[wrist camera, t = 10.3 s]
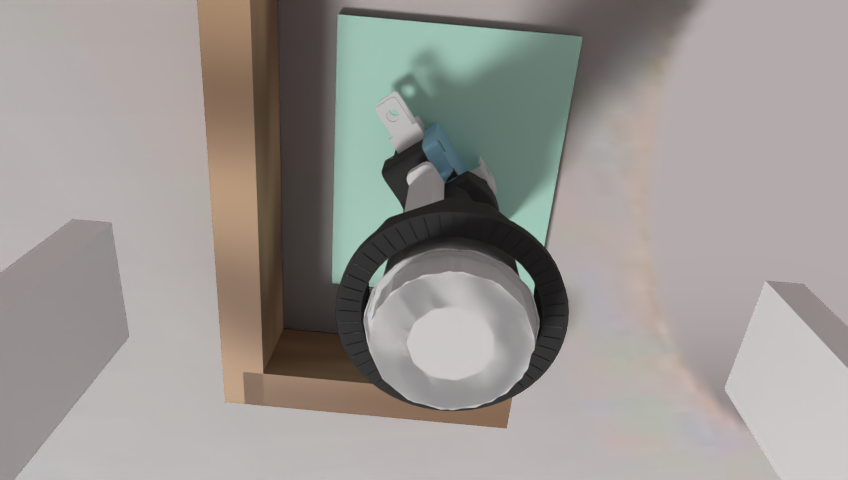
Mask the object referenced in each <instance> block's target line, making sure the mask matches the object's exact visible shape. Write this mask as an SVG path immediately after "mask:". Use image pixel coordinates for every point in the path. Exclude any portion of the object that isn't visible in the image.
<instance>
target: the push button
mask: <svg viewBox="0 0 848 480" xmlns="http://www.w3.org/2000/svg"><path fill="white" fill-rule="evenodd" d="M391 109H394V110H396V111H397V112H398V114H397V115H394V114H392V113H391V112H390V110H391ZM375 111H376V113H377V114H378V116H379V117H380V119H381V120H382V122H383V123H384V125H385V126H386V128H387V129H388V131H389V132H390V134H391V135H392V137H391V138H389V141H390V142H391V144H392V145H393V147H394V148H395V153H394V155H393V156H392V157H390V158H389V159H387V160H385V162H384V165H383V168H382V176H383V178H384V180H385V182H386V183H387V185H388V186H389V187H390V189H391V190H392V192H393V193H394V195H395V196H396V198H397V199H398V201H399V202H400V204H401V206H402V208H403V213H401V214H398V215H395V216H392V217H389V218H388V219H386V220H385V221H384V223H383V224H382V225H381V226H380V227H379V228H378V229H377V230H376V231H375V232H374V233H373V234H371V235H370V236H369V237H368V238H367V239H366V240H365V241H364V242H363V243H362V244H361V245H360V246H359V248H358V249H357V250H356V251H355V253H354V254H353V256H352V257H351V259H350V261H349V262H348V264H347V267H346V269H345V271H344V273H343V276H342V279H341V282H340V285H339V289H338V293H337V298H336V310H335V313H336V324H337V329H338V333H339V336H340V340H341V343H342V345H343V347H344V349H345V351H346V353H347V355H348V356H349V358H350V360H351V361H352V363H353V364H354V365H355V367H356V368H357V369H358V370H359V371H360V373H361V374H362V375H363V376H364V377H365V378H366V379H368V380H369V381H370V382H371V383H372V384H373V385H375V386H376V387H377V388H379V389H380V390H382V391H383V392H385V393H387V394H388V395H390V396H392V397H394V398H396V399H398V400H400V401H403V402H406V403H408V404H411V405H414V406H418V407H422V408H426V409H432V410H441V411H465V410H473V409H480V408H484V407H488V406H492V405H494V404H497V403H500V402H503V401H505V400H507V399H509V398H512V397H514V396H515V395H517V394H519V393H521V392H522V391H524V390H525V389H527V388H528V387H529V386H531V385H532V384H533V383H534V382H535V381H537V380H538V379H539V378H540V377H541V376H542V375H543V374H544V373H545V372H546V371H547V369H548V368H549V367H550V365H551V364H552V363H553V361H554V360H555V358H556V356H557V355H558V353H559V351H560V349H561V346H562V344H563V341H564V338H565V335H566V331H567V326H568V315H569V309H568V299H567V294H566V289H565V286H564V283H563V280H562V277H561V274H560V272H559V270H558V267H557V265H556V263H555V261H554V260H553V258H552V257H551V255H550V254H549V252H548V251H547V250H546V249H545V247H544V246H543V245H542V244H541V243H540V242H539V241H538V240H537V239H536V238H535V237H534V236H533V235H532V234H531V233H529V232H528V231H527V230H525V229H524V228H523V227H521V226H519V225H518V224H516V223H515V222H513V221H511V220H509V219H508V218H507V217H505V216H504V215H503V214H502V213H501V212H499V206H498V202H497V199H496V197H495V194H496V193H497V191H496V184H495V179H494V177H493V175H492V173H491V172H490V170H489V168H488V167H487V165H486V164H485V162H484V160H483V159H482V157H481V156H480V155H478V164H479V167H478V168H476V169H475V170H473V171H470V170H468V168H467V167H466V165H465V164H464V162H463V160H462V159H461V157H460V156H459V154H458V153H457V151H456V149H455V148H454V146H453V145H452V143H451V141H450V140H449V138H448V137H447V135H446V133H445V132H444V130H443V129H442V127H441V126H440V124H439V123H438V122H436V123H435V124H433V125H432V126H430V127H428V128H426V127H425V125H424V123H423V122H422V120H421V119H420V117H419V116H418V115H417V116H416V117H414V116H413V114H412V113H411V111H410V110H409V108H408V107H407V105H406V103H405V102H404V100H403V99H402V97H401V96H400V94H399V92H396V91H394V92H393V93H391V94H389V95H388V96H386V97H385V98H383V99H382V100H380V101H379V106H377V107H376V110H375ZM387 259H388V260H387ZM386 260H387V264H386V267H385V271H384V274H383V277H382V278H381V279H380V280H379V281H378V282H377V283H376V285H375V286H374V288H373V290H372V292H371V295H370V292H369V281H370V279H371V278H372V276H373V274H374V273H375V272H376V271H377V269H378V268H379V267H380V266H381V265H382V264H383V263H384V262H385V261H386ZM516 261H517V262H518V263H520V264H521V265H522V266H523V268H524V269H525V270H526V271H527V272H528V274H529V275H530V277H531V278H532V280H533V281H534V285H535V287H534V295H533V294H532V292H531V290H530V289H529V287H528V286H527V285H526V284H525V283H524V282H523V281H522V280H521V278H520V276H519V272H518V268H517V264H516Z"/></svg>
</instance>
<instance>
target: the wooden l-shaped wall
mask: <svg viewBox="0 0 848 480" xmlns="http://www.w3.org/2000/svg"><path fill="white" fill-rule="evenodd" d="M197 6H198V20H199V35H200V49H201V64H202V78H203V92H204V107H205V121H206V136H207V150H208V164H209V179H210V193H211V208H212V222H213V236H214V251H215V265H216V279H217V294H218V308H219V323H220V337H221V351H222V366H223V380H224V395H225V402H230V403H241V404H252V405H262V406H273V407H284V408H295V409H305V410H316V411H327V412H337V413H348V414H359V415H369V416H380V417H391V418H402V419H412V420H423V421H434V422H444V423H455V424H466V425H476V426H487V427H498V428H507V423H508V418H509V412H510V407H511V401H512V398H509V399H507V400H505V401H503V402H500V403H497V404H494V405H492V406H488V407H484V408H480V409H473V410H465V411H441V410H432V409H426V408H422V407H418V406H414V405H411V404H408V403H406V402H403V401H400V400H398V399H396V398H394V397H392V396H390V395H388V394H387V393H385V392H383V391H382V390H380V389H379V388H377V387H376V386H375V385H373V384H372V383H371V382H370V381H369V380H368V379H366V378H365V377H364V376H363V375H362V374H361V373H360V371H359V370H358V369H357V368H356V367H355V365H354V364H353V363H352V361H351V360H350V358H349V356H348V355H347V353H346V351H345V349H344V347H343V345H342V343H341V340H340V336H339V334H333V333H322V332H311V331H300V330H290V329H283V278H282V220H281V162H280V105H279V47H278V0H197Z"/></svg>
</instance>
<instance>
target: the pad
mask: <svg viewBox="0 0 848 480" xmlns="http://www.w3.org/2000/svg"><path fill="white" fill-rule="evenodd" d="M582 39H583V37H582V36H574V35H563V34H552V33H541V32H530V31H519V30H508V29H498V28H487V27H476V26H465V25H454V24H443V23H432V22H421V21H410V20H399V19H389V18H378V17H367V16H356V15H345V14H337V60H336V107H335V153H334V200H333V246H332V283H336V284H340V282H341V279H342V276H343V273H344V271H345V269H346V267H347V264H348V262H349V261H350V259H351V257H352V256H353V254H354V253H355V251H356V250H357V249H358V248H359V246H360V245H361V244H362V243H363V242H364V241H365V240H366V239H367V238H368V237H369V236H370V235H371V234H373V233H374V232H375V231H376V230H377V229H378V228H379V227H380V226H381V225H382V224H383V223H384V221H385V220H386V219H388V218H389V217H392V216H395V215H398V214H401V213H403V208H402V206H401V204H400V202H399V201H398V199H397V198H396V196H395V195H394V193H393V192H392V190H391V189H390V187H389V186H388V185H387V183H386V182H385V180H384V178H383V176H382V168H383V165H384V162H385V160H387V159H389V158H390V157H392V156H393V155H394V153H395V148H394V147H393V145H392V144H391V142H390V141H389V138H391V137H392V135H391V134H390V132H389V131H388V129H387V128H386V126H385V125H384V123H383V122H382V120H381V119H380V117H379V116H378V114H377V113H376V111H375V110H376V107H377V106H379V101H380V100H382V99H383V98H385V97H386V96H388V95H389V94H391V93H393V92H394V91H396V92H399V94H400V96H401V97H402V99H403V100H404V102H405V103H406V105H407V107H408V108H409V110H410V111H411V113H412V114H413V116H414V117H416V116H417V115H418V116H419V117H420V119H421V120H422V122H423V123H424V125H425V127H426V128H428V127H430V126H432V125H433V124H435V123H436V122H438V123H439V124H440V126H441V127H442V129H443V130H444V132H445V133H446V135H447V137H448V138H449V140H450V141H451V143H452V145H453V146H454V148H455V149H456V151H457V153H458V154H459V156H460V157H461V159H462V160H463V162H464V164H465V165H466V167H467V168H468V170H470V171H473V170H475V169H476V168H478V167H479V164H478V155H480V156H481V157H482V159H483V160H484V162H485V164H486V165H487V167H488V168H489V170H490V172H491V173H492V175H493V177H494V179H495V184H496V191H497V193H496V194H495V197H496V199H497V202H498V206H499V212H501V213H502V214H503V215H504V216H505V217H507V218H508V219H509V220H511V221H513V222H515V223H516V224H518V225H519V226H521V227H523V228H524V229H525V230H527V231H528V232H529V233H531V234H532V235H533V236H534V237H535V238H536V239H537V240H538V241H539V242H540V243H541V244H542V245H543V246H544V245H545V239H546V234H547V228H548V223H549V218H550V212H551V207H552V201H553V196H554V190H555V185H556V180H557V174H558V169H559V163H560V158H561V152H562V147H563V142H564V136H565V131H566V125H567V120H568V115H569V109H570V104H571V98H572V93H573V87H574V82H575V77H576V71H577V66H578V60H579V55H580V49H581V44H582ZM390 112H391V113H392V114H394V115H397V114H398V112H397V111H396V110H394V109H391V110H390ZM387 260H388V259H387ZM387 260H386V261H385V262H384V263H383V264H382V265H381V266H380V267H379V268H378V269H377V271H376V272H375V273H374V274H373V276H372V278H371V279H370V281H369V287H374V286H375V285H376V283H377V282H378V281H379V280H380V279H381V278H382V277H383V274H384V271H385V267H386V264H387ZM516 264H517V268H518V272H519V276H520V278H521V280H522V281H523V282H524V283H525V284H526V285H527V286H528V287H529V289H530V290H531V292H532V294H533V295H534V287H535V285H534V281H533V280H532V278H531V277H530V275H529V274H528V272H527V271H526V270H525V269H524V268H523V266H522V265H521V264H520V263H518V262H517V261H516Z"/></svg>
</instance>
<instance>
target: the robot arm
mask: <svg viewBox="0 0 848 480" xmlns="http://www.w3.org/2000/svg"><path fill="white" fill-rule="evenodd" d="M128 338H129V332H128V325H127V319H126V313H125V306H124V300H123V294H122V287H121V281H120V275H119V268H118V262H117V256H116V249H115V243H114V237H113V231H112V224H111V222H100V221H89V220H78V219H72V220H71V221H70V222H68V223H67V224H65V225H64V226H63V227H61V228H60V229H59V230H57V231H56V232H55V233H53V234H52V235H51V236H49V237H48V238H47V239H45V240H44V241H43V242H41V243H40V244H39V245H37V246H36V247H35V248H33V249H32V250H30V251H29V252H28V253H26V254H25V255H24V256H22V257H21V258H20V259H18V260H17V261H16V262H14V263H13V264H12V265H10V266H9V267H8V268H6V269H5V270H4V271H2V272H1V273H0V480H14V479H15V478H16V477H17V476H18V474H19V473H20V472H21V471H22V469H23V468H24V467H25V466H26V464H27V463H28V462H29V461H30V459H31V458H32V457H33V456H34V454H35V453H36V452H37V451H38V450H39V448H40V447H41V446H42V445H43V443H44V442H45V441H46V440H47V438H48V437H49V436H50V435H51V433H52V432H53V431H54V430H55V428H56V427H57V426H58V425H59V423H60V422H61V421H62V420H63V418H64V417H65V416H66V415H67V413H68V412H69V411H70V410H71V408H72V407H73V406H74V405H75V403H76V402H77V401H78V400H79V399H80V397H81V396H82V395H83V394H84V392H85V391H86V390H87V389H88V387H89V386H90V385H91V384H92V382H93V381H94V380H95V379H96V377H97V376H98V375H99V374H100V372H101V371H102V370H103V369H104V367H105V366H106V365H107V364H108V362H109V361H110V360H111V359H112V357H113V356H114V355H115V354H116V352H117V351H118V350H119V349H120V347H121V346H122V345H123V344H124V343H125V341H126V340H127V339H128ZM725 390H726V392H727V394H728V395H729V397H730V399H731V400H732V402H733V403H734V405H735V407H736V408H737V410H738V412H739V413H740V415H741V416H742V418H743V420H744V421H745V423H746V425H747V426H748V428H749V429H750V431H751V433H752V434H753V436H754V437H755V439H756V441H757V442H758V444H759V446H760V447H761V449H762V450H763V452H764V454H765V455H766V457H767V459H768V460H769V462H770V463H771V465H772V467H773V468H774V470H775V471H776V473H777V475H778V476H779V478H780V480H848V327H847V325H845V324H844V323H843V322H842V321H841V320H840V319H839V318H838V317H837V316H836V315H835V314H834V313H833V312H832V311H831V310H830V309H829V308H828V307H826V305H825V304H824V303H823V302H822V301H821V300H820V299H819V298H817V297H816V296H815V295H814V294H813V293H812V292H811V291H810V290H809V289H808V288H807V287H806V286H805V285H804V284H797V283H787V282H786V283H785V282H775V281H765V283H764V286H763V289H762V292H761V294H760V297H759V299H758V302H757V304H756V307H755V310H754V312H753V315H752V318H751V320H750V323H749V326H748V328H747V331H746V333H745V336H744V339H743V342H742V344H741V347H740V350H739V352H738V355H737V357H736V360H735V362H734V365H733V368H732V370H731V373H730V376H729V378H728V381H727V384H726V386H725Z"/></svg>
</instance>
